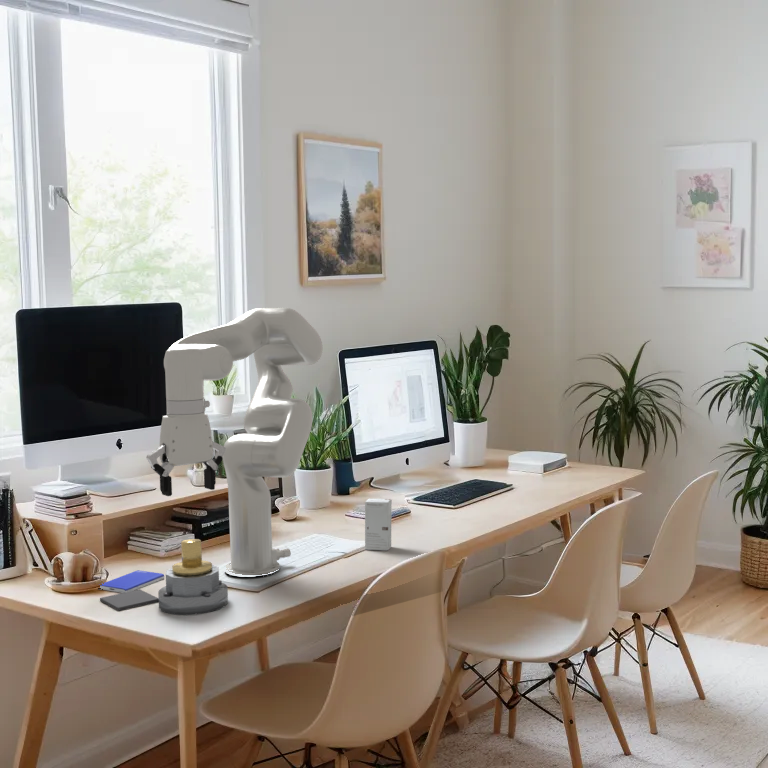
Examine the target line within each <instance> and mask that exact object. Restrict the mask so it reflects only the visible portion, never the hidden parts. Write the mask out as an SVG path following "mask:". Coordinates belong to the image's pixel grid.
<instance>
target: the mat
mask: <svg viewBox="0 0 768 768" xmlns="http://www.w3.org/2000/svg"><path fill="white" fill-rule="evenodd" d="M99 601H100V602H102V603H104V604H105V605H107V606H109V607H111V608H112V609H115V610H116V611H123V610H127V609H128V610H129V609H132V608H137V607H141V606H145V605H146V606H147V605H150V604H153V603H159V598H158V597H157V596H155V595H152V594H151V593H148V592H147V591H144V590H142V589H141V588H139V589H136V590H133V591H130V592H125V593H117V594H113V595H108V596H104V597H103V596H102V597H99Z"/></svg>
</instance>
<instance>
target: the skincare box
mask: <svg viewBox="0 0 768 768" xmlns="http://www.w3.org/2000/svg"><path fill="white" fill-rule="evenodd" d="M392 500H393V499H391V498H389V499H388V498H370V497H369V498H368V499H366V500H365V502H364V550H367V551H368V550H369V551H370V550H371V551H385V552H386V551H389V550H390V549H391V547H392Z"/></svg>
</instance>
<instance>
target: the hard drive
mask: <svg viewBox="0 0 768 768" xmlns="http://www.w3.org/2000/svg"><path fill="white" fill-rule="evenodd" d="M164 579H165V574H164V573H161V572H159V573H158V572H153V571H146V570H140V569H139V570H135V571H134V570H133V571H132V572H129V573H126V574H125V575H122V576H119V577H116V578H112V579H111V580H108V581H106V582H103V583H104V584H103V583H101V584H102V585H100V584H99V585H100V588H101V589H100V590H102V589H103V591H110V592H116V593H119V594H121V593H125V592H130V591H135V590H139V589H141V588H143V587H146V586H149V585H151V584H154V583H157V582H159V581H161V580H164Z"/></svg>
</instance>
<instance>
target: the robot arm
mask: <svg viewBox="0 0 768 768" xmlns="http://www.w3.org/2000/svg"><path fill="white" fill-rule="evenodd" d="M252 354H253V358H254V361H255V367H256V372H257V379H258V380H257V385H256V388H255V390H254V392H253V395H252V397H251V399H250V402H249V404H248V407H247V409H246V412H245V415H244V417H243V428H244V430H245V431H246V433H238V434H234V435H232V436H231V437H229V438H227V439H226V441H225V442H224V444H223V445H222V444H219V443H217V442H215V441H213V436H212V428H211V423H210V418H209V416H208V413H206V409H207V408H210V406H211V403H210V401H209V400H206V398H205V387H204V386H205V385H204V381H205V382H206V381H219V380H223V379H225V378H226V377H227V376H228V375H229V374H230V373H231V371H232V369H233V364H234V362H237V361H241V360H244V359H246V358H249V357H250V356H251V355H252ZM322 355H323V342H322V339H321V336H320V335H319V332H318V331H317V330H316V329H315V328H314V327H313V326H312V324H311V323H310V322H309V321H308V320H307V319H306V318H305V317H304V316H303V315H302V314H301V313H300V312H298V311H296V310H295V309H293V308H291V307H260V308H259V307H257V308H253V309H251V310H248V311H246V312H245V313H242V315H240V316H238V317H236V318H235V319H234V320H232V321H230V322H228V323H227V324H224V325H223V324H222V325H220V326H217V327H213V328H209V329H207V330H203V331H200V332H196V333H192V334H189V335H188V336H184V337H183V338H180V339H179V340H177V341H176V342H174V343H173V344H171V346H170V347H168V349H167V350H165V354H164V358H163V368H164V372H165V374H164V375H165V398H166V401H165V402H166V415H162V419H161V425H160V435H159V446H158V447H157V448H156V449H154V450H153V451H151V452H150V453H149V454H147V455H146V460H147V462H148V464H149V466H150V467H151V469H152V470H153V471H154V472H155V473H156V475H158V476H159V489H160V493H161V494H162V495H163V496H166V497H171V496H172V495H173V485H172V476H170V474H171V472H172V470H173V469H174V467H178V466H181V467H182V466H186V465H187V466H189V465H195V464H203V465H204V466H205V468H204V470H203V480H204V481H203V483H204V484H203V485H204V488H205V489H207V490H211V491H214V490H215V488H216V487H215V486H216V484H217V483H216V482H217V481H216V471H217V470H218V469H219V465H220V464H221V463H223V467H224V470H225V477H226V482H227V493H228V516H229V517H228V518H229V522H228V524H229V547H230V562H229V563H227V564H226V565H225V566H226V568H227V569H226V570H228V571H229V570H233V571H229V572H232V573H235V574H242V575H262V574H268V573H270V572H274V571H276V570H278V569H279V567H280V565H281V564H280V563H279V562H278V561H279V560H280V559H281V558H283V559H284V558H288V557H291V554H292V551H291V549H290V548H289V547H288V548H282V549H279V548H273V530H272V528H273V527H272V501H271V500H272V498H271V492H270V488H269V486H268V484H267V483H266V481H265V479H264V478H287V477H291V476H292V475H293V474H294V473H295V471H297V468H298V466H299V463H300V461H301V458H302V456H303V453H304V451H305V449H306V448H305V447H306V446H307V442H308V439H309V437H310V434H311V431H312V426H313V412H312V408H311V406H310V404H309V403H307V401H305V400H302V399H300V398H293V397H292V396H293V389H294V388H293V385H292V382H291V381H290V379H289V377H288V375H287V374H286V373H285V371H284V370H283V369H282V366H312V365H315V364H317V363H318V362H319V360H321V358H322ZM214 450H215V451H216V452H215V455H213V454H214ZM158 458H159V461H160V463H161V465H160V464H159V462H158ZM263 477H264V478H263ZM230 564H231V565H230ZM228 568H229V569H228ZM279 570H280V569H279Z"/></svg>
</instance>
